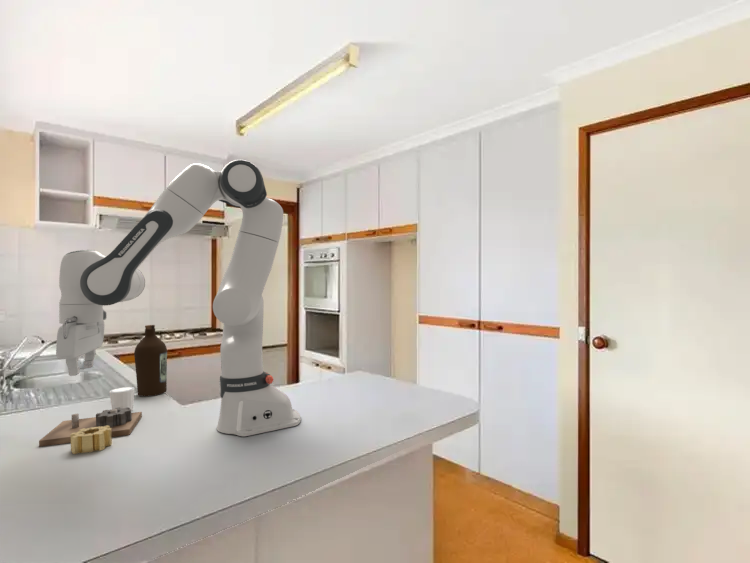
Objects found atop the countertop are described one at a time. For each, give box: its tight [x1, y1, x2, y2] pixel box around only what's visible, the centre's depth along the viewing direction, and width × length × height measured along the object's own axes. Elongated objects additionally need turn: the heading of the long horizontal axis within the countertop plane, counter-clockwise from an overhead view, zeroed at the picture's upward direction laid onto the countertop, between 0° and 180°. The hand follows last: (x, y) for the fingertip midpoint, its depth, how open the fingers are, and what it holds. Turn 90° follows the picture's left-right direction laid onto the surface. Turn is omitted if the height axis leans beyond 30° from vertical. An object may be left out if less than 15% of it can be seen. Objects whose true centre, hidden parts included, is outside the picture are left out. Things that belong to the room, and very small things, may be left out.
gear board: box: [38, 407, 143, 448], centre depth 116 cm, size 20×16×5 cm
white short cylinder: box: [108, 386, 135, 412], centre depth 133 cm, size 7×7×7 cm
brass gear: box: [70, 425, 113, 455], centre depth 103 cm, size 8×7×4 cm
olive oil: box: [133, 324, 168, 397], centre depth 154 cm, size 11×11×25 cm
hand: (81, 371), depth 104 cm, fingers open, 8 cm apart
